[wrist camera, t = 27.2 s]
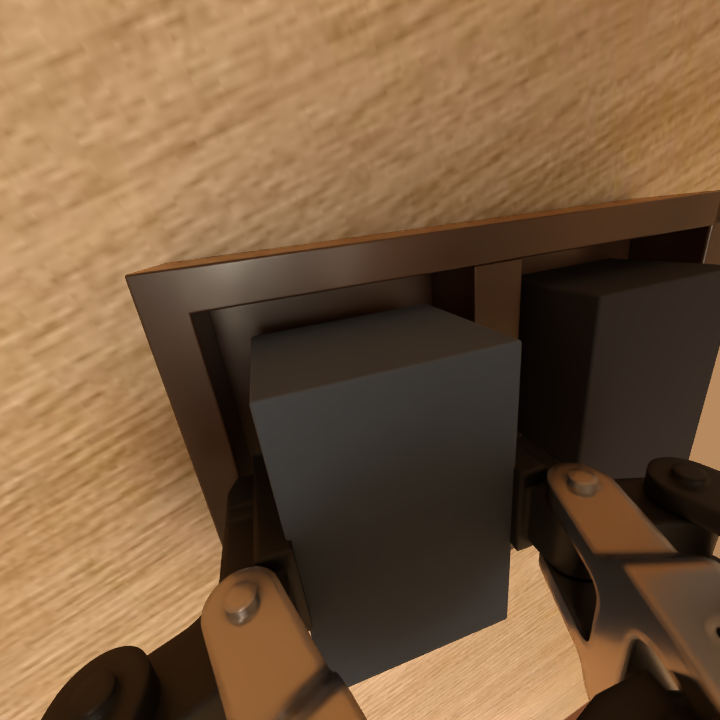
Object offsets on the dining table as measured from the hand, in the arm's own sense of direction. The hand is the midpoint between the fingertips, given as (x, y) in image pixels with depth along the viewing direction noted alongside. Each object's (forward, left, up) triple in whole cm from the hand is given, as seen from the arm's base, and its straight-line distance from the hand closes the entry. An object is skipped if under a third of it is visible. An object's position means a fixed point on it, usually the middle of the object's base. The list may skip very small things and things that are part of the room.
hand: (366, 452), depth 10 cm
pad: (0, 0, -1) cm, 1 cm away
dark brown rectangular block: (-9, 0, -2) cm, 9 cm away
